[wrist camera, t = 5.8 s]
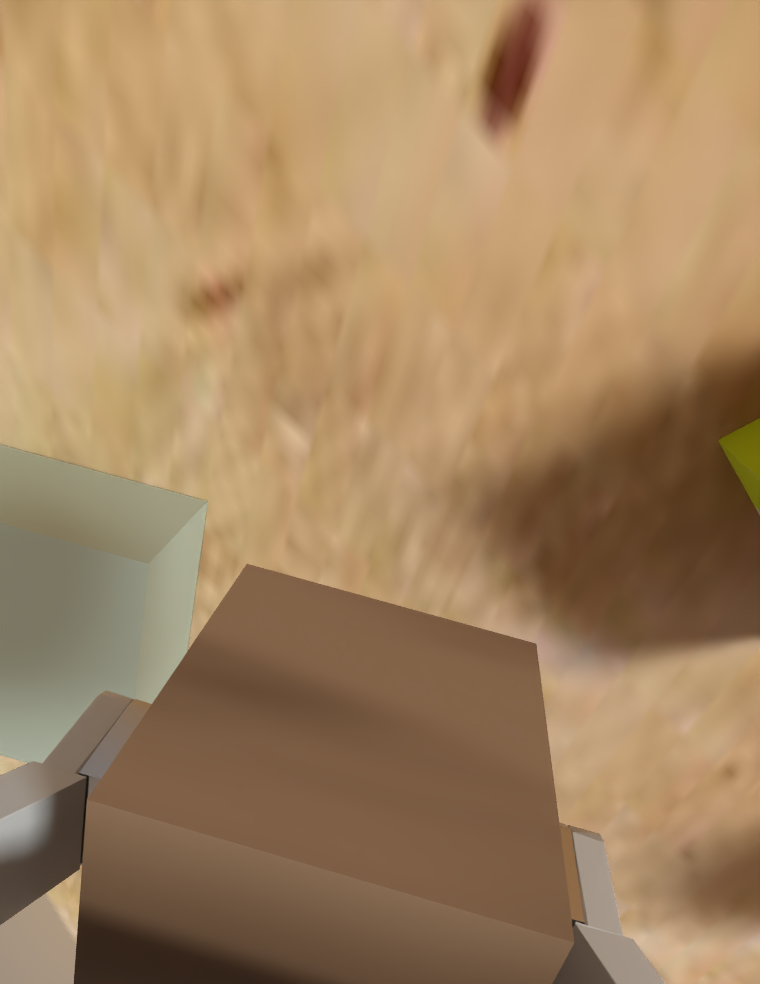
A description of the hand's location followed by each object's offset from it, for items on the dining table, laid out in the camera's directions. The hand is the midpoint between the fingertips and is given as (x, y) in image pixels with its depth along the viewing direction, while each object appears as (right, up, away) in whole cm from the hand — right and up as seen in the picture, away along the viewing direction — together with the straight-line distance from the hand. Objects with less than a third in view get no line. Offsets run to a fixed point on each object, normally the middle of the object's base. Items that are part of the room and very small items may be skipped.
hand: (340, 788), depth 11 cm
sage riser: (-14, +1, +23) cm, 27 cm away
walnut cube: (0, +1, +1) cm, 2 cm away
